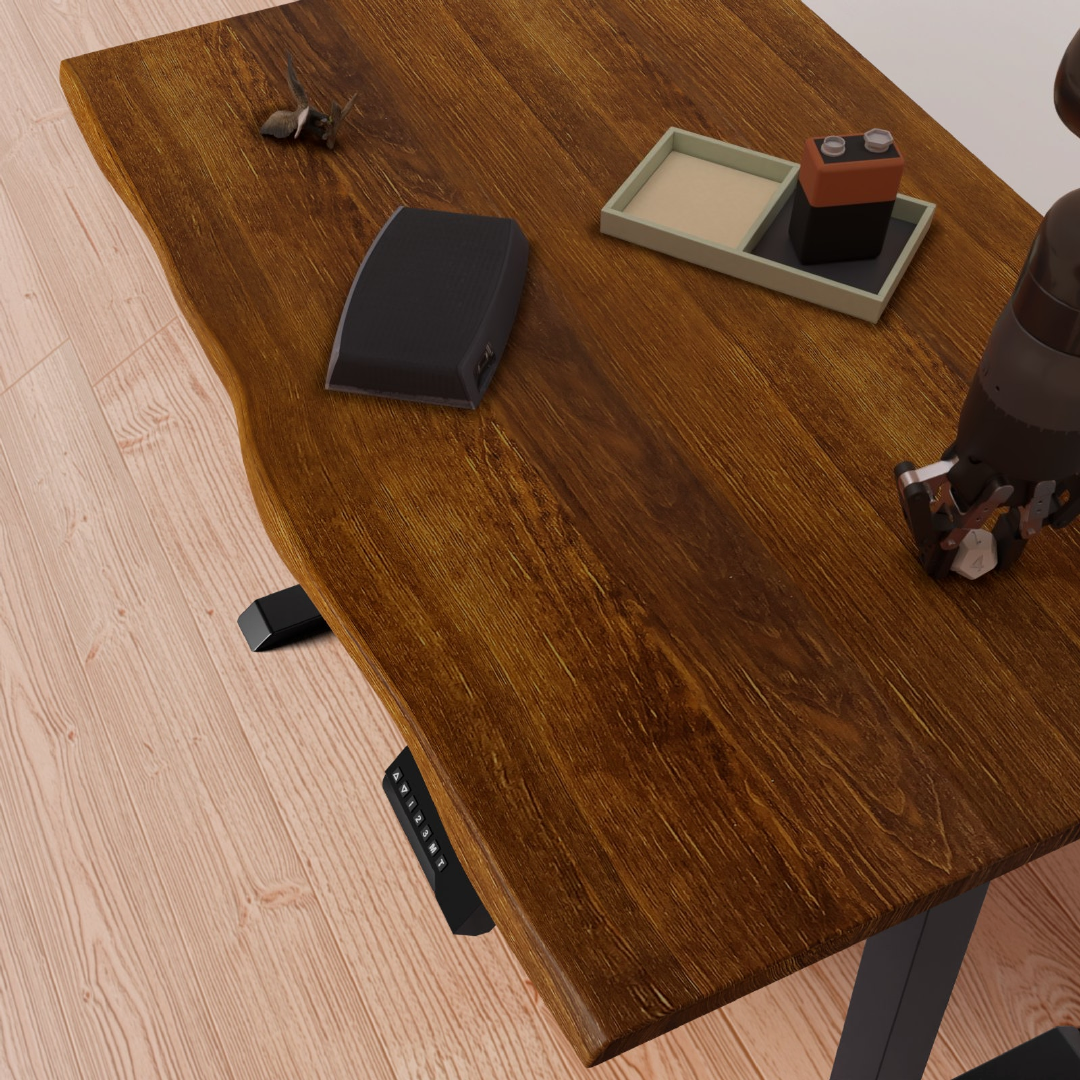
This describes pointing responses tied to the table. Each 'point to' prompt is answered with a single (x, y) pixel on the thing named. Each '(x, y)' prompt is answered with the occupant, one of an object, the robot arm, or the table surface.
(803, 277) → the sorting tray
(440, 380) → the hard drive
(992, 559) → the game die
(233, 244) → the table surface
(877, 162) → the battery
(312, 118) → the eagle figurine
